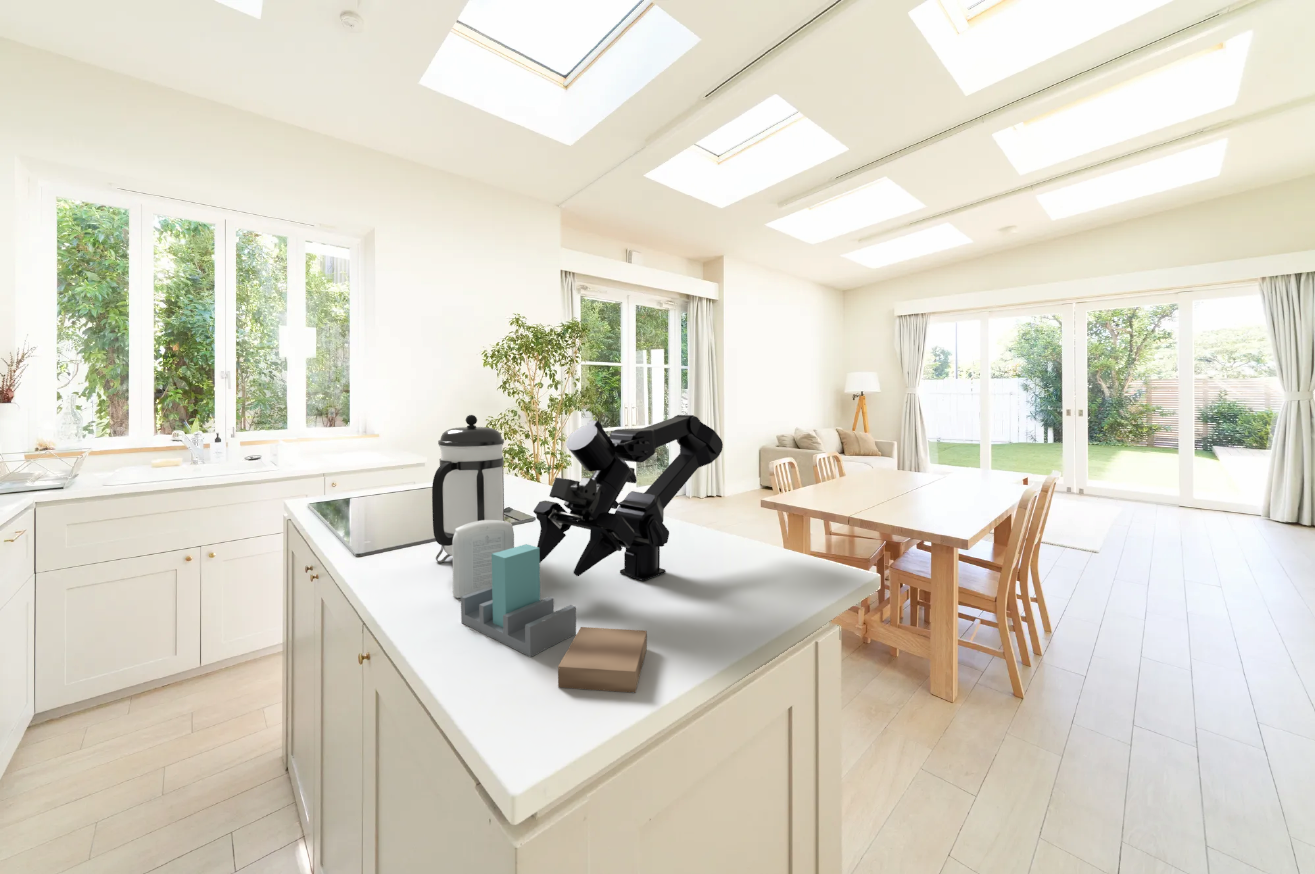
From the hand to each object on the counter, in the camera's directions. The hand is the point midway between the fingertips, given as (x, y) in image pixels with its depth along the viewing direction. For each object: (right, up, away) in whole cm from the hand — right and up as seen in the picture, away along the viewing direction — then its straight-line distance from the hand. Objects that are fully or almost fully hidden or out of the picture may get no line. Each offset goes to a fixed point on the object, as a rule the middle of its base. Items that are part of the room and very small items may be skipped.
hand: (555, 568), depth 77 cm
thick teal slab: (-4, -6, -5) cm, 9 cm away
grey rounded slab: (-14, -7, +9) cm, 18 cm away
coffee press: (-23, -5, +26) cm, 35 cm away
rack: (-4, -7, -5) cm, 10 cm away
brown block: (+10, -8, -15) cm, 20 cm away
